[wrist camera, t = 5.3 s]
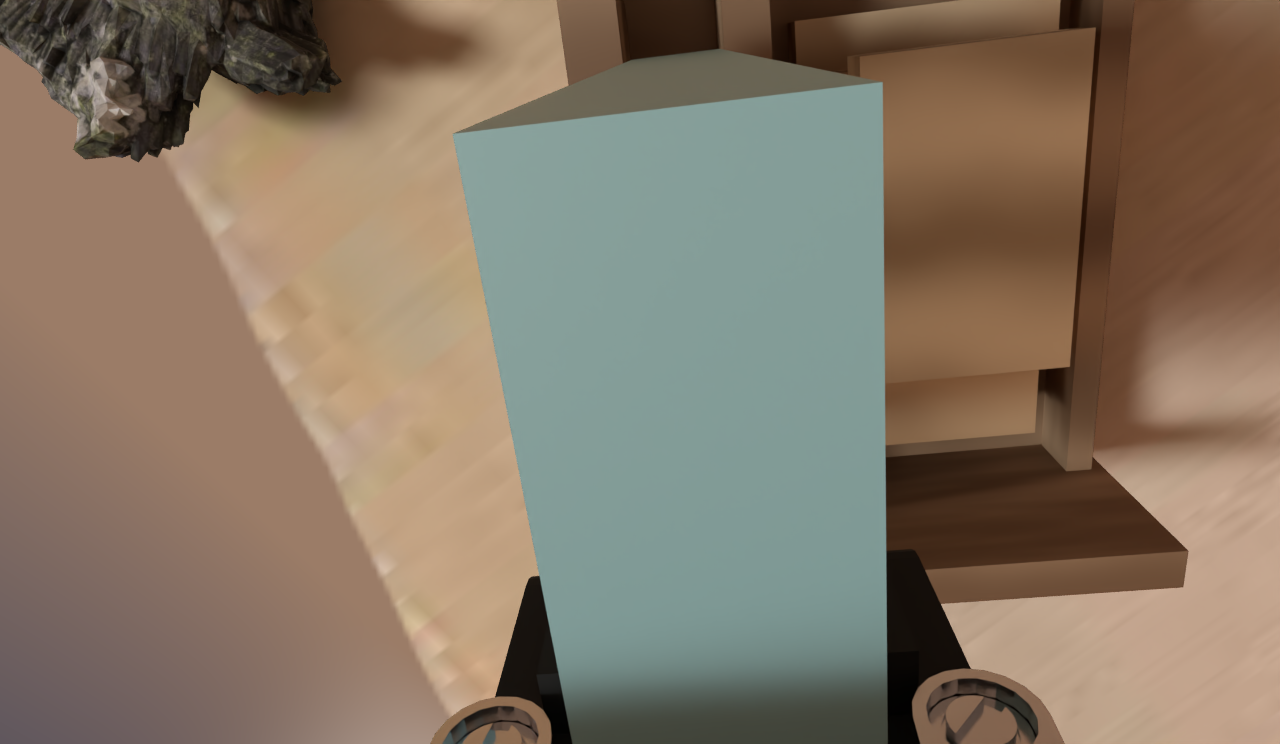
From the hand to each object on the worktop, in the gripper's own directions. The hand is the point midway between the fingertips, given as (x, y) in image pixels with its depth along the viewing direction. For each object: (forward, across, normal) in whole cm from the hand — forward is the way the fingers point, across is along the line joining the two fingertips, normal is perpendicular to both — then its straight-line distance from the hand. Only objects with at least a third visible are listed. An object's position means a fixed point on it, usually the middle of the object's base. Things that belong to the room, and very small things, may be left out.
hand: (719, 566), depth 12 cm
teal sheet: (+15, 0, 0) cm, 15 cm away
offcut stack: (+23, -9, +1) cm, 24 cm away
